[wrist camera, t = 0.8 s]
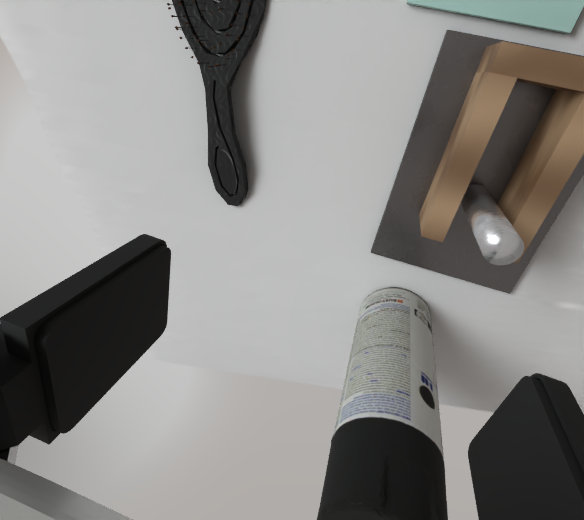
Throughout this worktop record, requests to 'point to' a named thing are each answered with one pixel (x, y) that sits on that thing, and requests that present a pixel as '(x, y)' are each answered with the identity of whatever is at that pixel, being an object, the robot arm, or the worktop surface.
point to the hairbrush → (221, 79)
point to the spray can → (388, 419)
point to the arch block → (539, 152)
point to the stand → (483, 186)
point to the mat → (515, 11)
